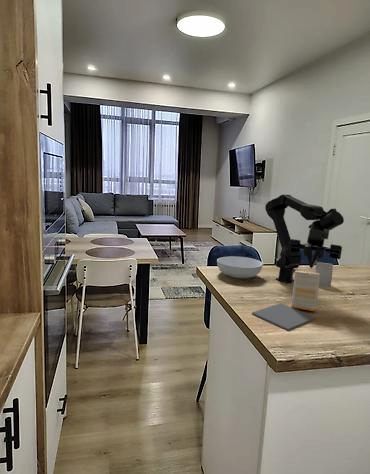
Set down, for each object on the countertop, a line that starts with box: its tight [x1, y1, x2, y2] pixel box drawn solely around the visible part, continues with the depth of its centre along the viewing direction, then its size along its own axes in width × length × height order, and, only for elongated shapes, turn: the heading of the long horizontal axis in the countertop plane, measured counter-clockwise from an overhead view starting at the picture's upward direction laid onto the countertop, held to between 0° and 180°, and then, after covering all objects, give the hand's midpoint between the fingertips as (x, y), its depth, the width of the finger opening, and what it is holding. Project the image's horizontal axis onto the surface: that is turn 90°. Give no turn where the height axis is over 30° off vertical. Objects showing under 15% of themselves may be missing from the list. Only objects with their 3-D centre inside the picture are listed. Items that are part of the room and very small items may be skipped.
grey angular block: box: [314, 261, 334, 288], centre depth 147 cm, size 4×7×10 cm, turn 76°
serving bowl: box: [216, 256, 264, 279], centre depth 154 cm, size 21×21×7 cm
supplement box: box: [291, 269, 320, 312], centre depth 117 cm, size 8×5×13 cm, turn 71°
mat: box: [251, 303, 317, 331], centre depth 110 cm, size 16×14×1 cm
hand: (310, 267), depth 123 cm, fingers closed
